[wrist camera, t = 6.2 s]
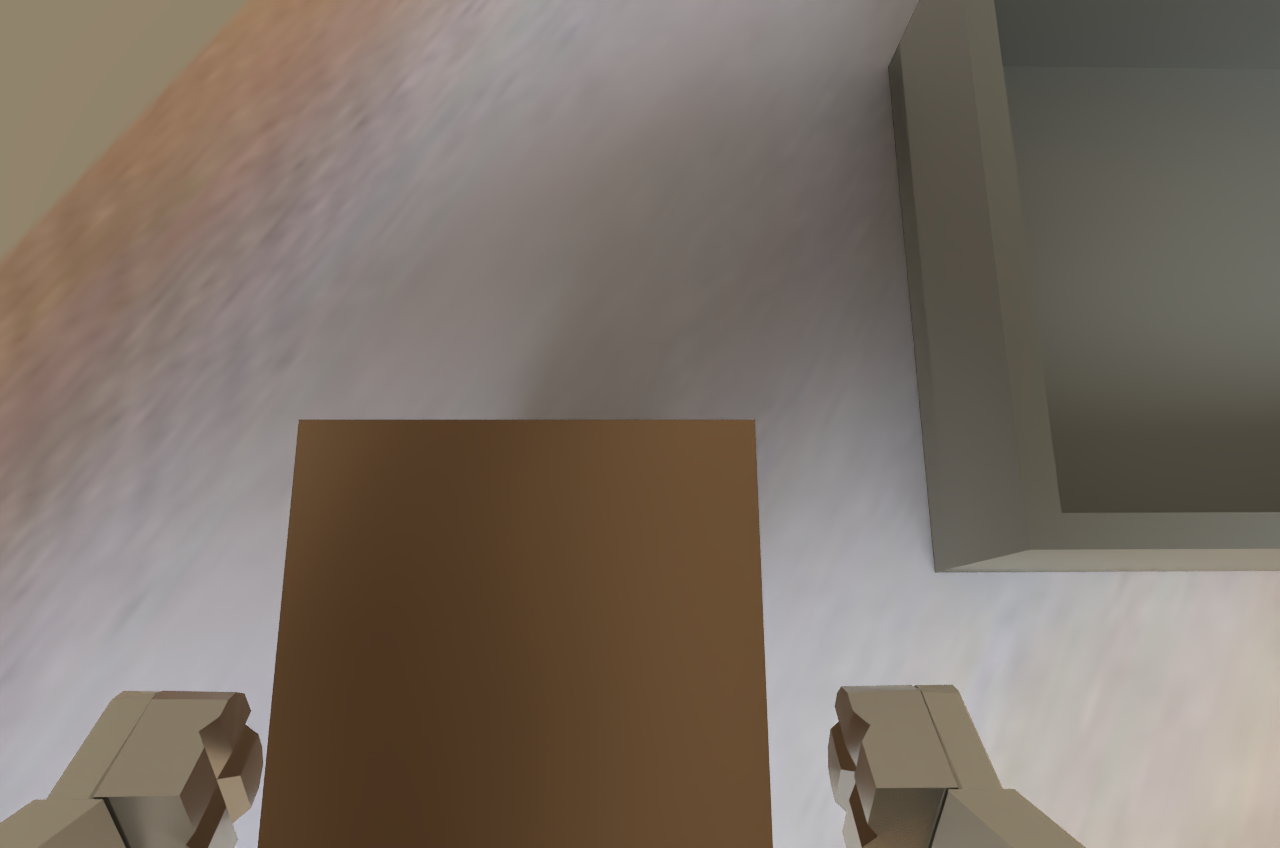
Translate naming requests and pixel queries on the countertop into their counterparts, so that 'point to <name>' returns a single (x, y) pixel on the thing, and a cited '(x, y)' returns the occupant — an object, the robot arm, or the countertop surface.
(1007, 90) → the box
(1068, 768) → the countertop surface
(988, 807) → the robot arm
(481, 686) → the wooden block
